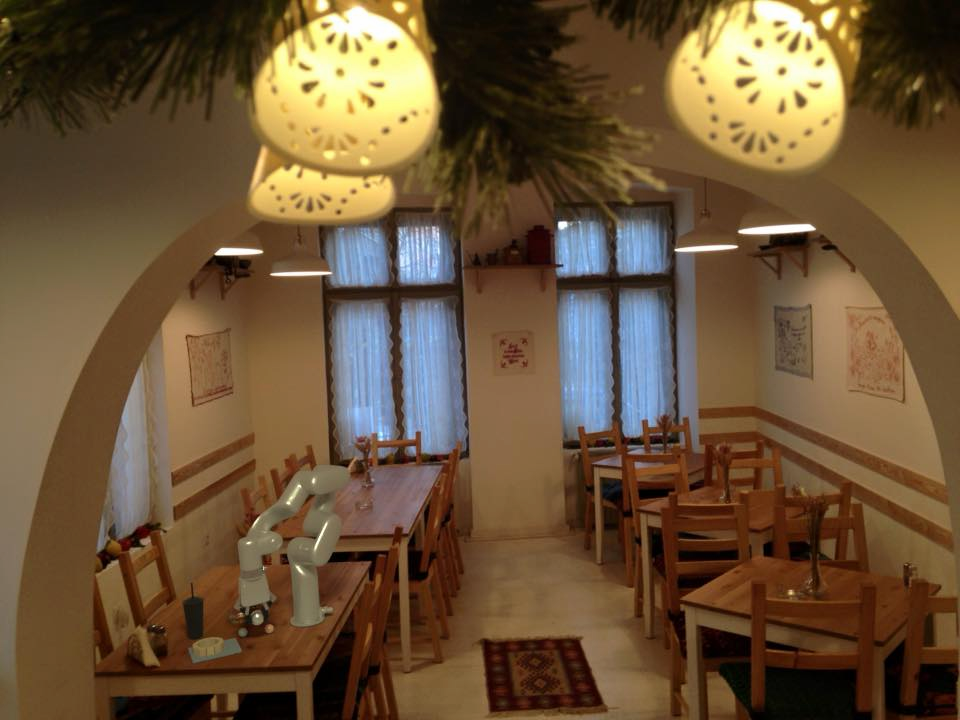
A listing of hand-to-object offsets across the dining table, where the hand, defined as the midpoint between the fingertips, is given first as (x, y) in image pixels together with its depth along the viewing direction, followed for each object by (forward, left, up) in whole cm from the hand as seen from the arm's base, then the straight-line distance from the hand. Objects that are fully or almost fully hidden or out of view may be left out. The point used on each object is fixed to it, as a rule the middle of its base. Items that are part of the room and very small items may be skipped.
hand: (257, 621), depth 292 cm
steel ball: (0, 0, +1) cm, 1 cm away
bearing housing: (+15, -1, -7) cm, 17 cm away
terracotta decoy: (-5, -6, -6) cm, 10 cm away
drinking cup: (+19, -19, -8) cm, 28 cm away
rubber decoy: (+4, -8, -6) cm, 11 cm away
